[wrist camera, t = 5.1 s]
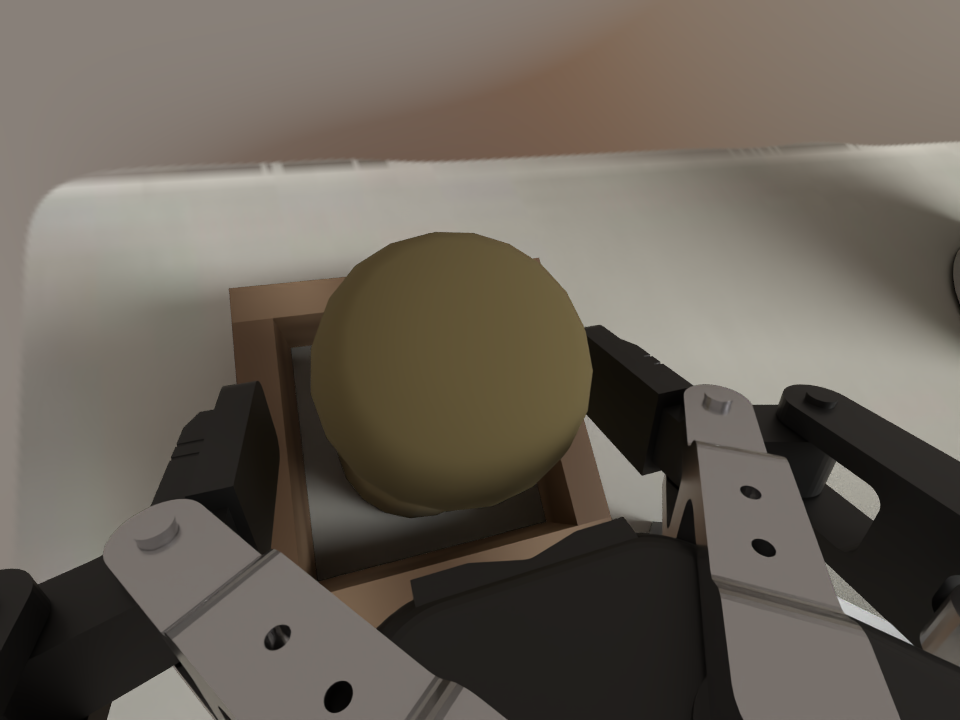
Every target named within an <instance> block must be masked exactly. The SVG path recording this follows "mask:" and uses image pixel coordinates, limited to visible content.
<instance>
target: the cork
mask: <svg viewBox="0 0 960 720" xmlns="http://www.w3.org/2000/svg"><path fill="white" fill-rule="evenodd" d="M592 373H593V369H592V364H591V358H590V353H589V347H588V341H587V336H586V331H585V329H584V326H583V324H582V322H581V320H580V318H579V316H578V314H577V312H576V310H575V308H574V306H573V304H572V302H571V300H570V298H569V296H568V294H567V292H566V291H565V290H564V289H563V288H562V286H561V285H560V284H559V283H558V282H557V281H556V280H555V279H554V278H553V277H552V276H551V274H550V273H549V272H548V271H547V270H546V269H545V268H544V267H543V266H542V265H541V264H540V263H538V262H537V261H535V260H534V259H532V258H531V257H529V256H527V255H526V254H524V253H523V252H521V251H519V250H518V249H516V248H515V247H513V246H512V245H510V244H507V243H504V242H501V241H497V240H494V239H491V238H488V237H484V236H481V235H478V234H475V233H449V232H434V233H429V234H425V235H421V236H417V237H414V238H410V239H406V240H402V241H399V242H395V243H391V244H389V245H387V246H386V247H384V248H383V249H381V250H380V251H378V252H376V253H375V254H373V255H372V256H370V257H368V258H367V259H365V260H364V261H362V262H361V263H359V264H357V265H356V266H355V267H354V268H353V269H352V271H351V272H350V273H349V274H348V275H347V277H346V278H345V279H344V280H343V282H342V283H341V284H340V285H339V286H338V288H337V289H336V290H335V291H334V293H333V294H332V295H331V296H330V297H329V299H328V302H327V305H326V308H325V310H324V313H323V316H322V319H321V322H320V324H319V327H318V330H317V333H316V335H315V338H314V341H313V344H312V347H311V396H312V399H313V402H314V404H315V407H316V410H317V413H318V416H319V418H320V421H321V424H322V427H323V430H324V432H325V435H326V438H327V439H328V440H329V442H330V443H331V444H332V445H333V447H334V448H335V449H336V450H337V451H338V456H339V459H340V462H341V465H342V467H343V470H344V473H345V476H346V479H347V480H348V481H349V482H350V483H351V485H352V486H353V487H354V488H355V490H356V491H357V492H358V493H359V495H360V496H361V497H362V498H363V499H364V500H366V501H367V502H369V503H371V504H372V505H374V506H375V507H377V508H379V509H380V510H382V511H384V512H385V513H390V514H394V515H399V516H403V517H408V518H416V517H424V516H433V515H438V514H440V513H442V512H444V511H445V512H447V511H455V510H464V509H473V508H481V507H490V506H494V505H496V504H498V503H500V502H502V501H504V500H506V499H509V498H511V497H513V496H515V495H517V494H519V493H521V492H523V491H525V490H527V489H529V488H531V487H533V486H534V485H535V484H536V483H537V482H538V481H539V480H540V479H541V478H542V477H543V476H544V475H545V474H546V473H547V472H548V471H549V470H550V469H551V468H552V467H553V466H554V465H555V464H556V463H557V462H558V461H559V460H560V459H561V458H562V457H563V456H564V455H565V453H566V452H567V451H568V450H569V448H570V446H571V444H572V442H573V440H574V438H575V436H576V434H577V432H578V430H579V428H580V426H581V423H582V421H583V419H584V417H585V415H586V413H587V411H588V404H589V396H590V388H591V381H592Z"/></svg>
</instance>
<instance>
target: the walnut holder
mask: <svg viewBox="0 0 960 720" xmlns="http://www.w3.org/2000/svg"><path fill="white" fill-rule="evenodd" d="M533 259H534V260H535V261H537V262H538V263H540V260H539V258H533ZM345 278H346V277H341V278H330V279H320V280H310V281H300V282H290V283H280V284H270V285H260V286H250V287H239V288H229V294H230V306H231V319H232V331H233V343H234V356H235V368H236V380H237V384H240V383H246V382H253V381H259V382H260V383H261V385H262V388H263V391H264V394H265V397H266V401H267V404H268V407H269V411H270V414H271V417H272V420H273V424H274V427H275V430H276V434H277V438H278V443H279V450H280V463H279V473H278V483H277V493H276V503H275V513H274V523H273V533H272V543H271V549H275V550H278V551H279V552H281V553H282V554H284V555H285V556H286V557H287V558H289V559H290V560H291V561H292V562H294V563H295V564H296V565H297V566H299V567H300V568H301V569H302V570H304V571H305V572H306V573H307V574H309V575H310V576H311V577H312V578H314V579H315V580H316V581H317V572H316V564H315V555H314V546H313V538H312V529H311V520H310V512H309V503H308V494H307V485H306V477H305V468H304V459H303V451H302V442H301V433H300V425H299V416H298V407H297V398H296V390H295V381H294V372H293V364H292V355H291V348H294V347H302V346H309V345H312V344H313V341H314V338H315V335H316V333H317V330H318V327H319V324H320V322H321V319H322V316H323V313H324V310H325V308H326V305H327V302H328V299H329V297H330V296H331V295H332V294H333V293H334V291H335V290H336V289H337V288H338V286H339V285H340V284H341V283H342V282H343V280H344V279H345ZM537 485H538V489H539V493H540V498H541V502H542V506H543V510H544V514H545V518H546V522H543V523H539V524H536V525H532V526H528V527H524V528H520V529H516V530H513V531H509V532H505V533H501V534H497V535H494V536H490V537H486V538H482V539H478V540H474V541H471V542H467V543H463V544H459V545H455V546H451V547H448V548H444V549H440V550H436V551H432V552H429V553H425V554H421V555H417V556H413V557H409V558H406V559H402V560H398V561H394V562H390V563H387V564H383V565H379V566H375V567H371V568H367V569H364V570H360V571H356V572H352V573H348V574H345V575H341V576H337V577H333V578H329V579H325V580H322V581H317V582H319V583H320V584H321V585H322V586H323V587H325V588H326V589H327V590H328V591H330V592H331V593H332V594H333V595H335V596H336V597H337V598H338V599H340V600H341V601H342V602H343V603H345V604H346V605H347V606H348V607H350V608H351V609H352V610H353V611H354V612H356V613H357V614H358V615H359V616H361V617H362V618H363V619H364V620H366V621H367V622H368V623H369V624H371V625H372V626H373V627H374V628H377V627H378V626H379V625H380V624H381V623H382V622H383V621H384V620H385V619H387V618H388V617H389V616H390V615H391V614H392V613H394V612H395V611H396V610H398V609H399V608H400V607H402V606H403V605H405V604H406V603H408V602H410V601H411V600H413V596H412V590H411V583H410V580H412V579H415V578H419V577H422V576H425V575H429V574H432V573H436V572H439V571H442V570H446V569H449V568H452V567H456V566H459V565H463V564H466V563H475V562H492V561H510V560H525V559H530V558H532V557H534V556H536V555H538V554H539V553H541V552H543V551H544V550H546V549H547V548H549V547H551V546H552V545H554V544H556V543H557V542H559V541H560V540H562V539H564V538H565V537H567V536H568V535H570V534H572V533H573V532H575V531H577V530H581V529H584V528H587V527H591V526H594V525H597V524H601V523H604V522H608V521H611V520H612V519H611V515H610V512H609V508H608V505H607V501H606V497H605V494H604V490H603V487H602V483H601V479H600V476H599V472H598V469H597V465H596V461H595V458H594V454H593V451H592V447H591V443H590V440H589V436H588V433H587V429H586V425H585V422H584V419H583V421H582V423H581V426H580V428H579V430H578V432H577V434H576V436H575V438H574V440H573V442H572V444H571V446H570V448H569V450H568V451H567V452H566V453H565V455H564V456H563V457H562V458H561V459H560V460H559V461H558V462H557V463H556V464H555V465H554V466H553V467H552V468H551V469H550V470H549V471H548V472H547V473H546V474H545V475H544V476H543V477H542V478H541V479H540V480H539V481H538V482H537Z"/></svg>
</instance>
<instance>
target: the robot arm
mask: <svg viewBox="0 0 960 720" xmlns="http://www.w3.org/2000/svg"><path fill="white" fill-rule="evenodd" d="M953 278H954V285H955V291H956V294H957V297H958V300H959V303H960V250H959V251H958V252H957V255H956V258H955V261H954V268H953ZM584 329H585V331H586V336H587V341H588V347H589V353H590V358H591V364H592V369H593V373H592V381H591V388H590V396H589V404H588V411H587V413H586V415H587V416H588V417H589V418H590V419H591V420H592V421H593V422H594V423H595V424H596V426H597V427H598V428H599V429H600V430H601V431H602V432H603V433H604V434H605V435H606V437H607V438H608V439H609V440H610V441H611V442H612V443H613V444H614V445H615V446H616V448H617V449H618V450H619V451H620V452H621V453H622V454H623V455H624V456H625V458H626V459H627V460H628V461H629V462H630V463H631V464H632V465H633V466H634V467H635V469H636V470H637V471H638V472H639V473H640V474H641V475H642V476H643V475H646V474H650V473H654V472H657V471H661V470H662V471H663V472H664V473H665V475H664V479H663V484H662V535H659V534H652V533H635V532H634V530H633V529H632V528H631V526H630V525H629V524H628V523H627V521H626V520H625V519H624V517H621V518H618V519H614V520H611V521H608V522H604V523H601V524H597V525H594V526H591V527H587V528H584V529H581V530H577V531H575V532H573V533H572V534H570V535H568V536H567V537H565V538H564V539H562V540H560V541H559V542H557V543H556V544H554V545H552V546H551V547H549V548H547V549H546V550H544V551H543V552H541V553H539V554H538V555H536V556H534V557H532V558H530V559H525V560H510V561H492V562H475V563H466V564H463V565H459V566H456V567H452V568H449V569H446V570H442V571H439V572H436V573H432V574H429V575H425V576H422V577H419V578H415V579H412V580H410V583H411V590H412V596H413V600H411V601H410V602H408V603H406V604H405V605H403V606H402V607H400V608H399V609H398V610H396V611H395V612H394V613H392V614H391V615H390V616H389V617H388V618H387V619H385V620H384V621H383V622H382V623H381V624H380V625H379V626H378V627H377V628H374V627H373V626H372V625H371V624H369V623H368V622H367V621H366V620H364V619H363V618H362V617H361V616H359V615H358V614H357V613H356V612H354V611H353V610H352V609H351V608H350V607H348V606H347V605H346V604H345V603H343V602H342V601H341V600H340V599H338V598H337V597H336V596H335V595H333V594H332V593H331V592H330V591H328V590H327V589H326V588H325V587H323V586H322V585H321V584H320V583H319V582H317V581H316V580H315V579H314V578H312V577H311V576H310V575H309V574H307V573H306V572H305V571H304V570H302V569H301V568H300V567H299V566H297V565H296V564H295V563H294V562H292V561H291V560H290V559H289V558H287V557H286V556H285V555H284V554H282V553H281V552H279V551H278V550H275V549H271V543H272V533H273V523H274V513H275V503H276V493H277V483H278V473H279V463H280V450H279V443H278V438H277V434H276V430H275V427H274V424H273V420H272V417H271V414H270V411H269V407H268V404H267V401H266V397H265V394H264V391H263V388H262V385H261V383H260V382H259V381H253V382H246V383H240V384H234V385H228V386H223V387H222V388H221V391H220V394H219V397H218V400H217V403H216V406H215V409H214V410H209V411H203V412H199V413H198V414H197V415H196V416H195V417H194V418H193V419H192V420H191V421H190V422H189V423H188V424H187V425H186V426H185V427H184V428H183V430H182V433H181V435H180V437H179V440H178V442H177V447H175V449H174V452H173V454H172V456H171V459H172V461H169V464H168V466H167V468H166V471H165V473H164V476H163V478H162V480H161V483H160V485H159V488H158V490H157V492H156V495H155V497H154V500H153V502H152V504H151V507H149V508H147V509H145V510H143V511H141V512H139V513H137V514H136V515H134V516H133V517H131V518H130V519H128V520H127V521H126V522H124V523H123V524H122V525H121V526H120V527H119V528H118V529H117V530H116V531H115V532H114V533H113V534H112V535H111V537H110V538H109V540H108V541H107V543H106V545H105V547H104V551H103V555H102V556H100V557H98V558H96V559H94V560H92V561H90V562H88V563H86V564H83V565H81V566H79V567H77V568H74V569H72V570H70V571H68V572H65V573H63V574H61V575H58V576H56V577H54V578H52V579H49V580H47V581H45V582H43V583H40V584H37V583H36V582H35V581H34V579H33V578H32V577H31V575H30V574H29V573H27V572H26V571H24V570H20V569H4V570H0V720H107V717H108V714H109V710H110V707H111V703H112V701H114V700H116V699H117V698H119V697H121V696H122V695H124V694H126V693H128V692H129V691H131V690H133V689H134V688H136V687H138V686H139V685H141V684H143V683H145V682H146V681H148V680H150V679H151V678H153V677H155V676H157V675H158V674H160V673H162V672H163V671H165V670H167V669H169V668H170V667H172V666H173V668H174V669H175V670H176V671H177V673H178V674H179V675H180V677H181V678H182V679H183V680H184V682H185V683H186V684H187V686H188V687H189V688H190V689H191V691H192V692H193V693H194V695H195V696H196V697H197V698H198V700H199V701H200V702H201V704H202V705H203V706H204V708H205V709H206V710H207V711H208V713H209V714H210V715H211V717H212V718H213V719H214V720H960V462H959V461H958V460H956V459H954V458H952V457H951V456H949V455H947V454H945V453H944V452H942V451H940V450H938V449H937V448H935V447H933V446H931V445H929V444H928V443H926V442H924V441H922V440H921V439H919V438H917V437H915V436H914V435H912V434H910V433H908V432H907V431H905V430H903V429H901V428H900V427H898V426H896V425H894V424H893V423H891V422H889V421H887V420H886V419H884V418H882V417H880V416H878V415H877V414H875V413H873V412H871V411H870V410H868V409H866V408H864V407H863V406H861V405H859V404H857V403H856V402H854V401H852V400H850V399H849V398H847V397H845V396H843V395H841V394H839V393H837V392H834V391H832V390H829V389H826V388H822V387H818V386H812V385H792V386H789V387H787V388H785V389H784V391H783V394H782V396H781V399H780V402H779V404H778V405H752V404H751V402H750V401H749V400H748V399H747V398H746V397H744V396H743V395H742V394H740V393H738V392H736V391H734V390H731V389H728V388H725V387H722V386H717V385H709V384H702V385H695V386H693V385H692V384H691V383H689V382H688V381H686V380H685V379H684V378H682V377H681V376H679V375H678V374H677V373H675V372H674V371H672V370H671V369H670V368H668V367H667V366H665V365H664V364H660V361H658V360H657V359H656V358H654V357H653V356H651V357H650V354H649V353H647V352H646V351H644V350H643V349H642V348H640V347H639V346H637V345H635V344H632V343H630V342H627V341H625V340H622V339H620V338H618V337H617V336H616V335H614V334H613V333H611V332H610V331H609V330H607V329H606V328H605V327H603V326H602V325H595V326H589V327H584ZM836 461H837V462H838V463H840V464H841V465H842V466H844V467H845V468H847V469H848V470H849V471H851V472H852V473H854V474H855V475H856V476H858V477H859V478H861V479H862V480H864V481H865V482H866V483H868V484H869V485H870V486H871V487H872V488H873V489H874V490H875V491H876V493H877V495H878V497H879V499H880V510H879V512H878V514H877V516H876V518H875V519H874V521H873V520H872V519H870V518H869V517H868V516H866V515H865V514H864V513H863V512H861V511H860V510H859V509H857V508H856V507H855V506H854V505H852V504H851V503H850V502H848V501H847V500H846V499H844V498H843V497H842V496H841V495H839V494H838V493H837V492H835V491H834V490H833V489H832V488H830V487H829V486H828V485H826V481H827V479H828V477H829V475H830V473H831V471H832V469H833V467H834V465H835V463H836ZM825 562H826V563H827V564H828V565H829V566H830V567H831V568H832V569H833V570H834V571H835V572H836V573H837V574H838V575H839V576H840V577H842V578H843V579H844V580H845V581H846V582H847V583H848V584H849V585H850V586H851V587H852V588H853V589H854V590H855V591H856V592H857V593H859V594H860V595H861V596H862V597H863V598H864V599H865V600H866V601H867V602H868V603H869V604H870V605H871V606H872V607H873V608H874V609H876V610H877V611H878V612H879V613H880V614H881V615H882V616H883V617H884V618H885V619H886V620H887V621H888V622H889V623H890V624H892V625H893V626H894V627H895V628H896V629H897V630H898V631H899V632H900V633H901V634H902V635H903V636H904V637H905V638H906V639H907V640H909V641H910V642H911V643H912V644H913V645H911V644H909V643H907V642H905V641H903V640H901V639H898V638H896V637H894V636H892V635H890V634H888V633H885V632H883V631H881V630H879V629H877V628H875V627H872V626H870V625H868V624H866V623H864V622H862V621H859V620H857V619H855V618H853V617H851V616H849V615H846V614H845V613H844V612H843V610H842V608H841V606H840V603H839V600H838V598H837V595H836V592H835V589H834V586H833V584H832V581H831V578H830V575H829V573H828V570H827V567H826V564H825Z"/></svg>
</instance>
